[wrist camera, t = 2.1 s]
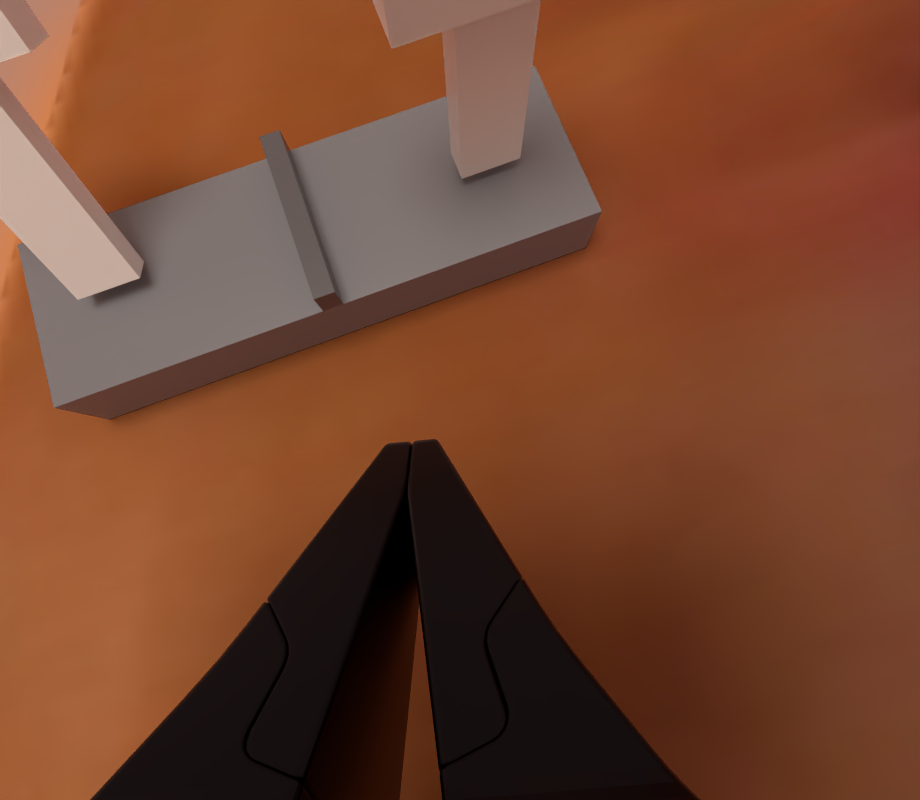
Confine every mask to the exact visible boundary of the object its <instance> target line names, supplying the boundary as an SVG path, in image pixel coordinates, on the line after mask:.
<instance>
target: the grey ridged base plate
mask: <svg viewBox="0 0 920 800" xmlns="http://www.w3.org/2000/svg"><path fill="white" fill-rule="evenodd" d="M260 140H261V143H262V146H263V149H264V152H265V155H266V158H267V159H264V160H261V161H258V162H256V163H253V164H250V165H247V166H244V167H241V168H238V169H235V170H232V171H230V172H227V173H224V174H221V175H218V176H215V177H212V178H209V179H206V180H204V181H201V182H198V183H195V184H192V185H189V186H186V187H183V188H181V189H178V190H175V191H172V192H169V193H166V194H163V195H160V196H157V197H155V198H152V199H149V200H146V201H143V202H140V203H137V204H134V205H131V206H129V207H126V208H123V209H120V210H117V211H114V212H111V213H108V214H107V215H108V216H109V217H110V219H111V220H112V221H113V223H114V224H115V225H116V226H117V228H118V229H119V230H120V231H121V233H122V234H123V235H124V237H125V238H126V239H127V240H128V242H129V243H130V244H131V246H132V247H133V248H134V249H135V251H136V252H137V253H138V255H139V256H140V257H141V258H142V260H143V261H144V264H143V268H142V272H141V276H140V278H139V279H136V280H133V281H130V282H128V283H125V284H122V285H119V286H116V287H113V288H110V289H108V290H105V291H102V292H99V293H96V294H93V295H91V296H88V297H85V298H82V299H79V300H77V299H76V298H75V296H74V295H73V294H72V293H71V292H70V291H69V290H68V289H67V288H66V287H65V286H64V285H63V284H62V283H61V282H60V281H59V280H58V279H57V278H56V277H55V276H54V274H53V273H52V272H51V271H50V270H49V269H48V268H47V267H46V266H45V265H44V264H43V263H42V262H41V261H40V260H39V259H38V258H37V257H36V256H35V255H34V254H33V252H32V251H31V250H30V249H29V248H28V247H27V246H26V245H25V244H24V243H22V244H19V245H18V248H19V253H20V257H21V262H22V266H23V271H24V275H25V280H26V284H27V289H28V293H29V298H30V302H31V307H32V311H33V316H34V320H35V325H36V329H37V334H38V338H39V343H40V347H41V352H42V356H43V361H44V365H45V370H46V374H47V379H48V383H49V388H50V392H51V397H52V401H53V406H54V408H58V409H62V410H67V411H72V412H77V413H81V414H86V415H91V416H95V417H100V418H105V419H112V418H115V417H117V416H120V415H123V414H126V413H129V412H131V411H134V410H137V409H140V408H142V407H145V406H148V405H151V404H153V403H156V402H159V401H162V400H165V399H167V398H170V397H173V396H176V395H178V394H181V393H184V392H187V391H190V390H192V389H195V388H198V387H201V386H203V385H206V384H209V383H212V382H214V381H217V380H220V379H223V378H226V377H228V376H231V375H234V374H237V373H239V372H242V371H245V370H248V369H250V368H253V367H256V366H259V365H262V364H264V363H267V362H270V361H273V360H275V359H278V358H281V357H284V356H287V355H289V354H292V353H295V352H298V351H300V350H303V349H306V348H309V347H311V346H314V345H317V344H320V343H323V342H325V341H328V340H331V339H334V338H336V337H339V336H342V335H345V334H348V333H350V332H353V331H356V330H359V329H361V328H364V327H367V326H370V325H372V324H375V323H378V322H381V321H384V320H386V319H389V318H392V317H395V316H397V315H400V314H403V313H406V312H408V311H411V310H414V309H417V308H420V307H422V306H425V305H428V304H431V303H433V302H436V301H439V300H442V299H445V298H447V297H450V296H453V295H456V294H458V293H461V292H464V291H467V290H469V289H472V288H475V287H478V286H481V285H483V284H486V283H489V282H492V281H494V280H497V279H500V278H503V277H505V276H508V275H511V274H514V273H517V272H519V271H522V270H525V269H528V268H530V267H533V266H536V265H539V264H542V263H544V262H547V261H550V260H553V259H555V258H558V257H561V256H564V255H566V254H569V253H572V252H575V251H578V250H580V249H583V248H586V246H587V244H588V242H589V239H590V237H591V235H592V233H593V230H594V228H595V226H596V223H597V221H598V219H599V217H600V214H601V212H602V211H601V208H600V206H599V204H598V202H597V200H596V198H595V195H594V193H593V191H592V189H591V187H590V185H589V182H588V180H587V178H586V176H585V174H584V172H583V169H582V167H581V165H580V163H579V161H578V159H577V156H576V154H575V152H574V150H573V148H572V146H571V143H570V141H569V139H568V137H567V135H566V133H565V130H564V128H563V126H562V124H561V122H560V120H559V117H558V115H557V113H556V111H555V109H554V107H553V104H552V102H551V100H550V98H549V96H548V94H547V91H546V89H545V87H544V85H543V83H542V81H541V78H540V76H539V74H538V72H537V70H536V68H535V66H532V71H531V79H530V87H529V94H528V102H527V110H526V117H525V125H524V133H523V141H522V148H521V156H520V159H517V160H514V161H511V162H508V163H505V164H503V165H500V166H497V167H494V168H491V169H488V170H486V171H483V172H480V173H477V174H474V175H471V176H469V177H466V178H463V179H462V178H461V176H460V174H459V171H458V169H457V166H456V164H455V161H454V159H453V157H452V154H451V146H450V133H449V119H448V106H447V96H446V97H443V98H440V99H437V100H434V101H432V102H429V103H426V104H423V105H420V106H417V107H414V108H411V109H408V110H406V111H403V112H400V113H397V114H394V115H391V116H388V117H385V118H382V119H380V120H377V121H374V122H371V123H368V124H365V125H362V126H359V127H356V128H354V129H351V130H348V131H345V132H342V133H339V134H336V135H333V136H331V137H328V138H325V139H322V140H319V141H316V142H313V143H310V144H307V145H305V146H302V147H299V148H296V149H293V150H290V149H289V147H288V145H287V144H286V142H285V140H284V138H283V136H282V134H281V132H280V130H278V131H275V132H272V133H269V134H266V135H264V136H261V137H260Z"/></svg>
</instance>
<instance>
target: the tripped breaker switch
mask: <svg viewBox="0 0 920 800" xmlns="http://www.w3.org/2000/svg"><path fill="white" fill-rule="evenodd" d="M372 1H373V4H374V6H375V8H376V11H377V13H378V16H379V18H380V21H381V23H382V26H383V28H384V31H385V33H386V36H387V38H388V41H389V43H390V46H391V48H392V49H393V48H396V47H399V46H402V45H405V44H408V43H411V42H414V41H417V40H419V39H422V38H425V37H428V36H431V35H434V34H437V33H440V32H442V38H443V52H444V65H445V79H446V92H447V106H448V119H449V133H450V146H451V154H452V157H453V159H454V161H455V164H456V166H457V169H458V171H459V174H460V176H461V178H462V179H463V178H466V177H469V176H471V175H474V174H477V173H480V172H483V171H486V170H488V169H491V168H494V167H497V166H500V165H503V164H505V163H508V162H511V161H514V160H517V159H520V156H521V148H522V141H523V133H524V125H525V117H526V110H527V102H528V94H529V87H530V79H531V71H532V63H533V56H534V48H535V40H536V32H537V25H538V17H539V9H540V2H541V0H372Z"/></svg>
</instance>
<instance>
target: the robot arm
mask: <svg viewBox="0 0 920 800" xmlns="http://www.w3.org/2000/svg"><path fill="white" fill-rule="evenodd" d="M267 601H268V603H269V604H268V603H267V602H265V603H263V604H262V605H261V607H260V608H259V609H258V611H257V612H256V613H255V615H254V616H253V617H252V618H251V620H250V621H249V622H248V624H247V625H246V626H245V627H244V629H243V630H242V631H241V632H240V633H239V635H238V636H237V637H236V638H235V640H234V641H233V642H232V643H231V645H230V646H229V647H228V648H227V650H226V651H225V652H224V653H223V654H222V656H221V657H220V658H219V659H218V660H217V662H216V663H215V664H214V665H213V666H212V667H211V668H210V669H209V671H208V672H207V673H206V674H205V675H204V676H203V677H202V679H201V680H200V681H199V682H198V683H197V684H196V685H195V686H194V688H193V689H192V690H191V691H190V692H189V693H188V694H187V695H186V697H185V698H184V699H183V700H182V701H181V702H180V703H179V704H178V705H177V706H176V707H175V709H174V710H173V711H172V712H171V713H170V714H169V715H168V716H167V717H166V718H165V719H164V720H163V722H162V723H161V724H160V725H159V726H158V727H157V728H156V729H155V730H154V731H153V732H152V733H151V735H150V736H149V737H148V738H147V739H146V740H145V741H144V742H143V743H142V744H141V745H140V746H139V748H138V749H137V750H136V751H135V752H134V753H133V754H132V755H131V756H130V757H129V758H128V759H127V761H126V762H125V763H124V764H123V765H122V766H121V767H120V768H119V769H118V770H117V771H116V772H115V774H114V775H113V776H112V777H111V778H110V779H109V780H108V781H107V782H106V783H105V784H104V785H103V787H102V788H101V789H100V790H99V791H98V792H97V793H96V794H95V795H94V796H93V797H92V798H91V799H90V800H399V799H400V789H401V779H402V769H403V759H404V749H405V739H406V729H407V719H408V709H409V699H410V689H411V679H412V669H413V659H414V649H415V639H416V629H417V619H418V609H419V605H420V614H421V622H422V631H423V639H424V648H425V656H426V664H427V673H428V681H429V690H430V698H431V707H432V715H433V724H434V732H435V740H436V749H437V757H438V766H439V770H440V783H441V791H442V800H700V799H699V798H698V797H697V796H696V795H695V794H694V793H693V792H692V791H691V790H690V789H689V788H688V787H687V786H686V785H685V784H684V783H683V782H682V781H681V780H680V779H679V778H678V777H677V776H676V775H675V774H674V773H673V772H672V771H671V769H670V768H669V767H668V766H667V765H666V764H665V763H664V762H663V760H662V759H661V758H660V757H659V756H658V755H657V753H656V752H655V751H654V750H653V749H652V747H651V746H650V745H649V744H648V743H647V741H646V740H645V739H644V738H643V736H642V735H641V734H640V733H639V732H638V730H637V729H636V728H635V727H634V726H633V724H632V723H631V722H630V721H629V719H628V718H627V717H626V716H625V715H624V713H623V712H622V711H621V710H620V708H619V707H618V706H617V705H616V704H615V702H614V701H613V700H612V699H611V697H610V696H609V695H608V694H607V693H606V691H605V690H604V689H603V688H602V686H601V685H600V684H599V683H598V682H597V680H596V679H595V678H594V677H593V675H592V674H591V673H590V672H589V671H588V669H587V668H586V667H585V666H584V664H583V663H582V662H581V661H580V659H579V658H578V657H577V655H576V654H575V653H574V652H573V650H572V649H571V648H570V646H569V645H568V644H567V642H566V641H565V640H564V639H563V637H562V636H561V635H560V633H559V632H558V631H557V629H556V628H555V626H554V625H553V623H552V622H551V620H550V619H549V617H548V616H547V614H546V613H545V611H544V610H543V608H542V607H541V605H540V604H539V602H538V601H537V599H536V598H535V596H534V595H533V593H532V591H531V590H530V588H529V586H528V585H527V583H526V582H525V580H523V579H522V576H521V574H520V572H519V571H518V569H517V568H516V566H515V564H514V563H513V561H512V559H511V558H510V556H509V555H508V553H507V551H506V550H505V548H504V547H503V545H502V543H501V542H500V540H499V538H498V537H497V535H496V534H495V532H494V530H493V529H492V527H491V525H490V524H489V522H488V521H487V519H486V517H485V516H484V514H483V513H482V511H481V509H480V508H479V506H478V504H477V503H476V501H475V500H474V498H473V496H472V495H471V493H470V492H469V490H468V488H467V487H466V485H465V483H464V482H463V480H462V479H461V477H460V475H459V474H458V472H457V470H456V469H455V467H454V466H453V464H452V462H451V461H450V459H449V458H448V456H447V454H446V453H445V451H444V449H443V448H442V446H441V445H440V443H439V442H438V441H437V440H435V439H431V440H420V441H415V442H414V443H413V444H411V443H410V442H399V443H390V444H387V445H385V446H384V448H383V449H382V450H381V452H380V453H379V454H378V455H377V457H376V458H375V459H374V461H373V462H372V463H371V465H370V466H369V467H368V468H367V470H366V471H365V472H364V474H363V475H362V476H361V477H360V479H359V480H358V481H357V483H356V484H355V485H354V487H353V488H352V489H351V490H350V492H349V493H348V494H347V496H346V497H345V498H344V500H343V501H342V502H341V503H340V505H339V506H338V507H337V509H336V510H335V511H334V512H333V514H332V515H331V516H330V518H329V519H328V520H327V522H326V523H325V524H324V525H323V527H322V528H321V529H320V531H319V532H318V533H317V535H316V536H315V537H314V538H313V540H312V541H311V542H310V544H309V545H308V546H307V547H306V549H305V550H304V551H303V553H302V554H301V555H300V557H299V558H298V559H297V560H296V562H295V563H294V564H293V566H292V567H291V568H290V570H289V571H288V572H287V573H286V575H285V576H284V577H283V579H282V580H281V581H280V582H279V584H278V585H277V586H276V588H275V589H274V590H273V592H272V593H271V594H270V595H269V597H268V599H267Z"/></svg>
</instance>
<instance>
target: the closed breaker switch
mask: <svg viewBox="0 0 920 800" xmlns="http://www.w3.org/2000/svg"><path fill="white" fill-rule="evenodd" d="M47 37H49V35H48V33H47V32H46V30H45V29H44V27H43V26H42V24H41V23H40V22H39V20H38V19H37V17H36V16H35V14H34V13H33V11H32V10H31V8H30V7H29V5H28V4H27V3H26V1H25V0H0V62H3V61H6V60H9V59H11V58H14V57H17V56H20V55H23V54H26V53H29V52H31V51H33V50H34V49H35V48H36V47H37V46H38V45H40V44H41V43H42V42H43V41H44V40H45V39H46V38H47ZM0 219H1V220H2V221H3V222H4V223H5V224H6V225H7V226H8V227H9V228H10V229H11V230H12V231H13V232H14V234H15V235H16V236H17V237H18V238H19V239H20V240H21V241H22V242H23V243H24V244H25V245H26V246H27V247H28V248H29V249H30V250H31V251H32V252H33V254H34V255H35V256H36V257H37V258H38V259H39V260H40V261H41V262H42V263H43V264H44V265H45V266H46V267H47V268H48V269H49V270H50V271H51V272H52V273H53V274H54V276H55V277H56V278H57V279H58V280H59V281H60V282H61V283H62V284H63V285H64V286H65V287H66V288H67V289H68V290H69V291H70V292H71V293H72V294H73V295H74V296H75V298H76V299H77V300H79V299H82V298H85V297H88V296H91V295H93V294H96V293H99V292H102V291H105V290H108V289H110V288H113V287H116V286H119V285H122V284H125V283H128V282H130V281H133V280H136V279H139V278H140V276H141V272H142V268H143V264H144V261H143V260H142V258H141V257H140V256H139V255H138V253H137V252H136V251H135V249H134V248H133V247H132V246H131V244H130V243H129V242H128V240H127V239H126V238H125V237H124V235H123V234H122V233H121V231H120V230H119V229H118V228H117V226H116V225H115V224H114V223H113V221H112V220H111V219H110V217H109V216H108V215H107V214H106V212H105V211H104V210H103V208H102V207H101V206H100V205H99V203H98V202H97V201H96V199H95V198H94V197H93V196H92V194H91V193H90V192H89V191H88V189H87V188H86V187H85V185H84V184H83V183H82V182H81V180H80V179H79V178H78V176H77V175H76V174H75V173H74V171H73V170H72V169H71V167H70V166H69V165H68V164H67V162H66V161H65V160H64V159H63V157H62V156H61V155H60V153H59V152H58V151H57V150H56V148H55V147H54V146H53V144H52V143H51V142H50V141H49V139H48V138H47V137H46V135H45V134H44V133H43V132H42V130H41V129H40V128H39V127H38V125H37V124H36V123H35V121H34V120H33V119H32V118H31V116H30V115H29V114H28V112H27V111H26V110H25V109H24V107H23V106H22V105H21V103H20V102H19V101H18V100H17V98H16V97H15V96H14V95H13V93H12V92H11V91H10V90H9V88H8V87H7V86H6V84H5V83H4V82H3V81H2V79H1V78H0Z"/></svg>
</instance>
